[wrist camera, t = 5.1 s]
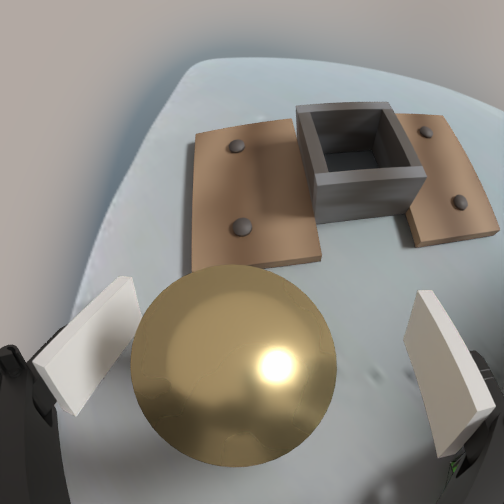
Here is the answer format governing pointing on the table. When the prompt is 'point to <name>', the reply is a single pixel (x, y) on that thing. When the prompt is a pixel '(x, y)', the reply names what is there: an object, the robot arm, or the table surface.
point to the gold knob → (233, 365)
